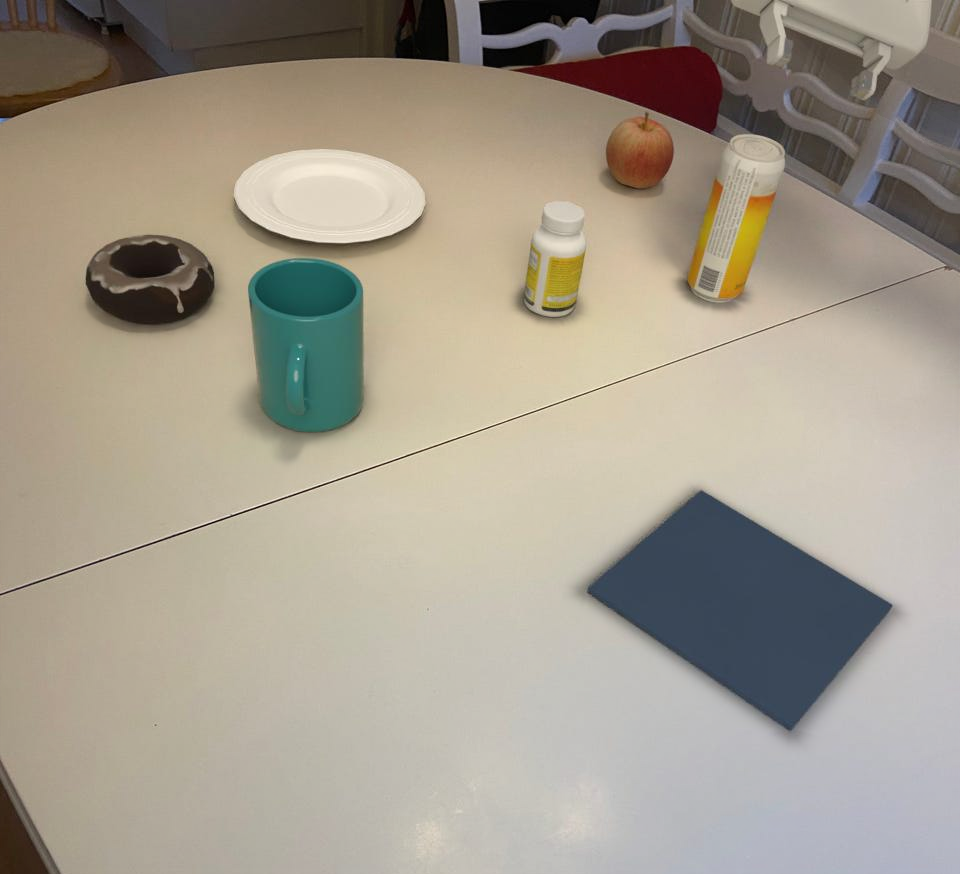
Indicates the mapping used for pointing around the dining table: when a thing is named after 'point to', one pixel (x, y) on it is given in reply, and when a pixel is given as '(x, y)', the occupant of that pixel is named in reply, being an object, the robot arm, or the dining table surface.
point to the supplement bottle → (556, 260)
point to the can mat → (743, 606)
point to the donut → (150, 279)
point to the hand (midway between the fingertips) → (821, 79)
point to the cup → (308, 343)
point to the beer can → (735, 216)
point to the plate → (329, 197)
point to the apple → (639, 152)
